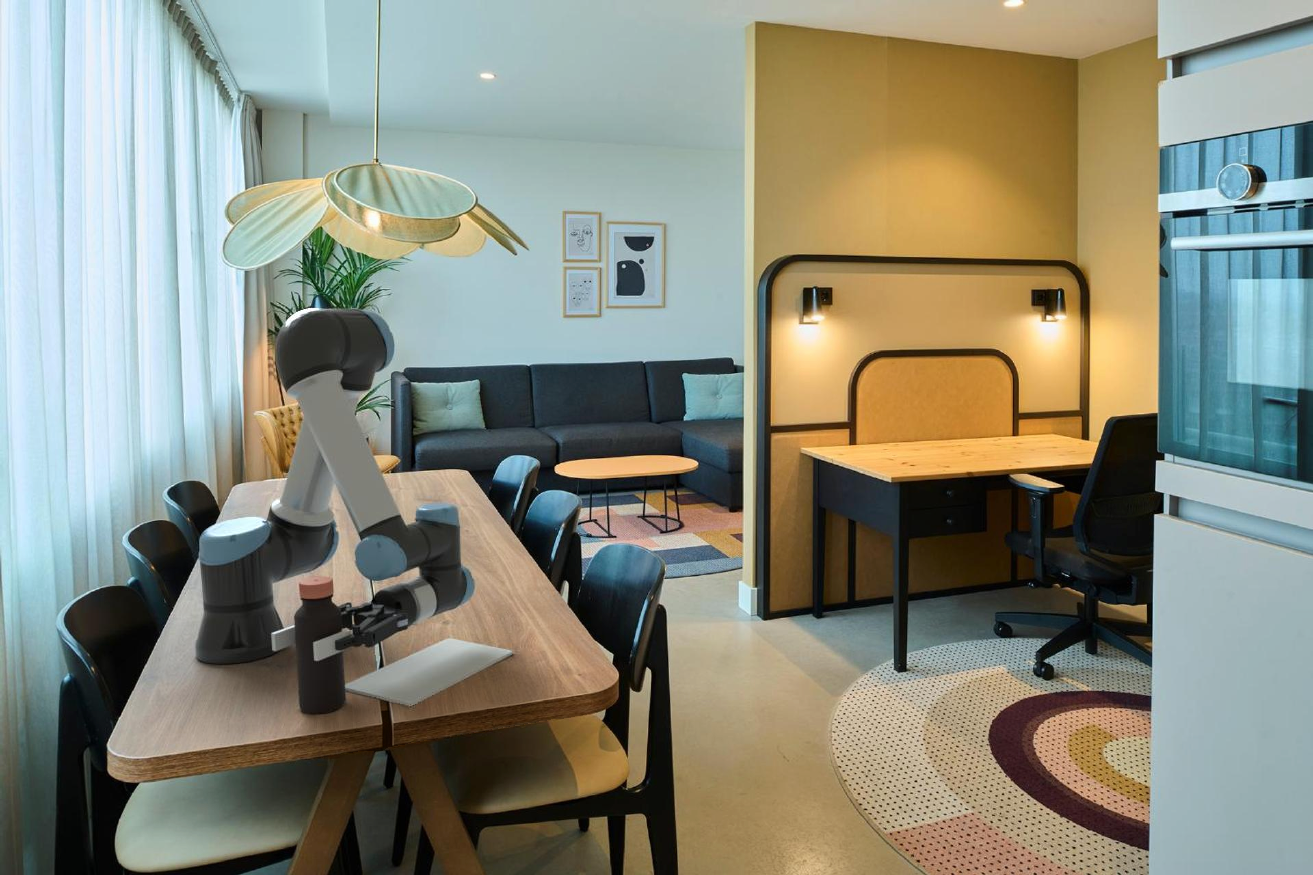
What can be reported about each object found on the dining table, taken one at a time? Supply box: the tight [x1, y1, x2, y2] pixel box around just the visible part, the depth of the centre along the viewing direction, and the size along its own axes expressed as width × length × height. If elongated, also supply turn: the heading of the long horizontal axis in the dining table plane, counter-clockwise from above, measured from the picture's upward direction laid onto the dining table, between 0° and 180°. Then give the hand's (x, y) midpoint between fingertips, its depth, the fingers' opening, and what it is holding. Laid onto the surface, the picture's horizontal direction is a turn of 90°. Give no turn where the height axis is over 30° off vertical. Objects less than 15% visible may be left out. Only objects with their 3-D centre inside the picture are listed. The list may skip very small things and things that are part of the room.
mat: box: [345, 637, 514, 707], centre depth 158 cm, size 15×26×1 cm, turn 152°
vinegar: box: [293, 575, 347, 715], centre depth 142 cm, size 7×7×20 cm
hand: (294, 646), depth 138 cm, fingers open, 8 cm apart
